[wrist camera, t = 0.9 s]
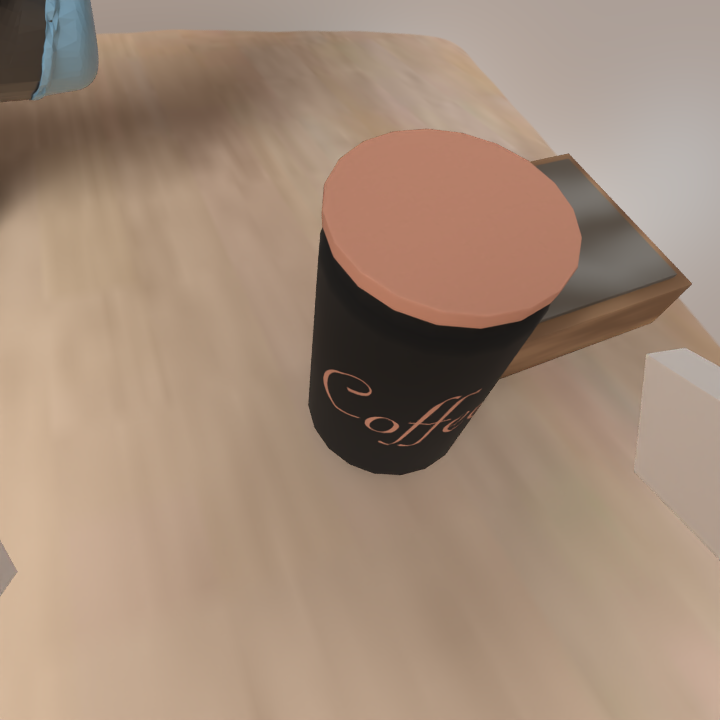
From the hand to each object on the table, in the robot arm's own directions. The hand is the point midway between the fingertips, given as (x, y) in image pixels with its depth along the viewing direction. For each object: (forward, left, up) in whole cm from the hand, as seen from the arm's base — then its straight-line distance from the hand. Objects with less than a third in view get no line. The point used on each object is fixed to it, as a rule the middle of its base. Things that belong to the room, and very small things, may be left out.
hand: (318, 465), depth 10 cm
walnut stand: (-16, +27, -22) cm, 38 cm away
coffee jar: (-9, +10, -22) cm, 26 cm away
